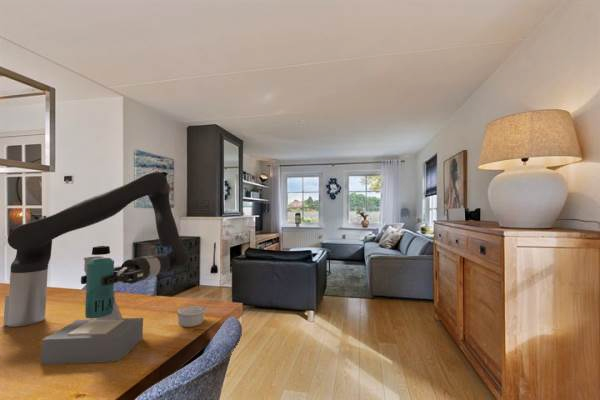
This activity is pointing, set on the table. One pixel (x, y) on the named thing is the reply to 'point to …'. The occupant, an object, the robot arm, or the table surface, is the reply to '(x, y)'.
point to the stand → (92, 341)
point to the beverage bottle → (99, 285)
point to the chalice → (87, 262)
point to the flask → (116, 312)
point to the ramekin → (191, 316)
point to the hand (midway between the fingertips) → (92, 281)
